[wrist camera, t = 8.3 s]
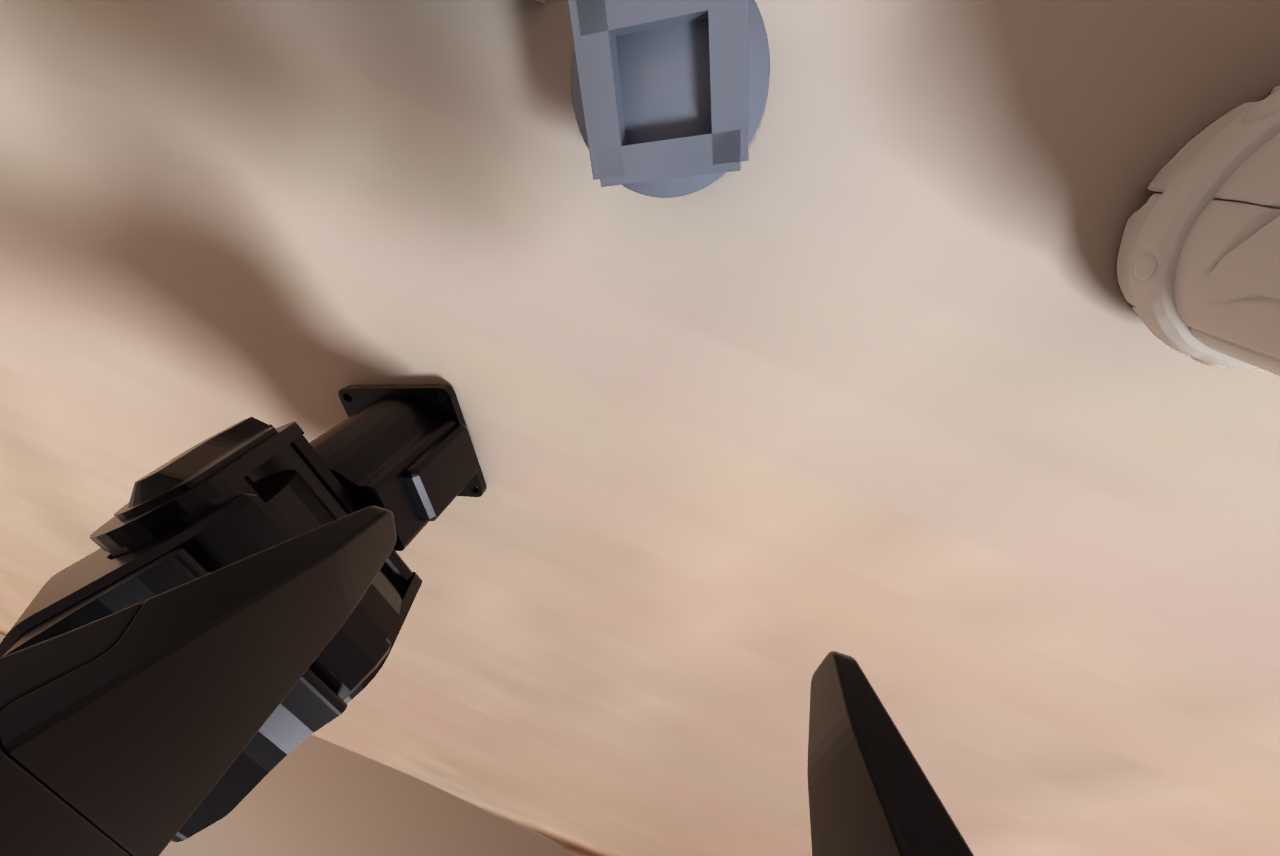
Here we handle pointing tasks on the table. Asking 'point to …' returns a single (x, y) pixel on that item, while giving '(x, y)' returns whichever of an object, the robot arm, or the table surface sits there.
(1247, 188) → the mug
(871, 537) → the table surface
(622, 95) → the cylinder with square socket
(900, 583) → the table surface
